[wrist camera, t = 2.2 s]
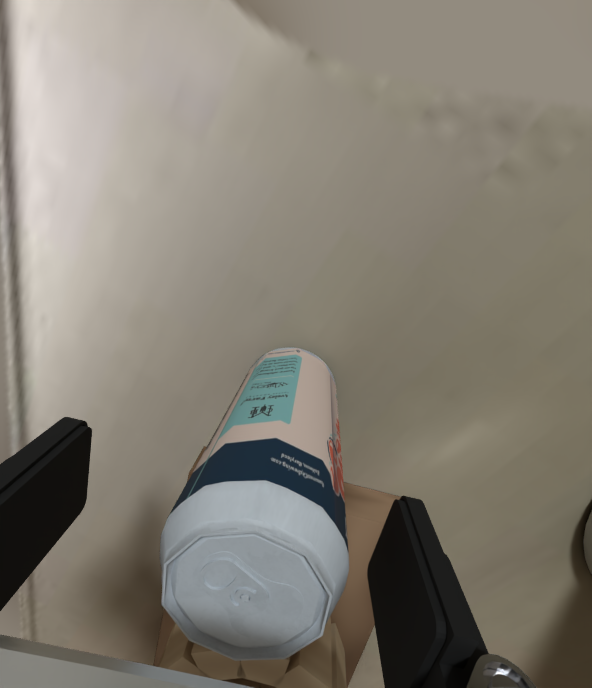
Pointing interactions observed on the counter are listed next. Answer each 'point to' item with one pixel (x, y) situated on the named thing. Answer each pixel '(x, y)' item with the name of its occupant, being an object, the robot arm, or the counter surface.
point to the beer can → (262, 518)
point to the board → (357, 581)
